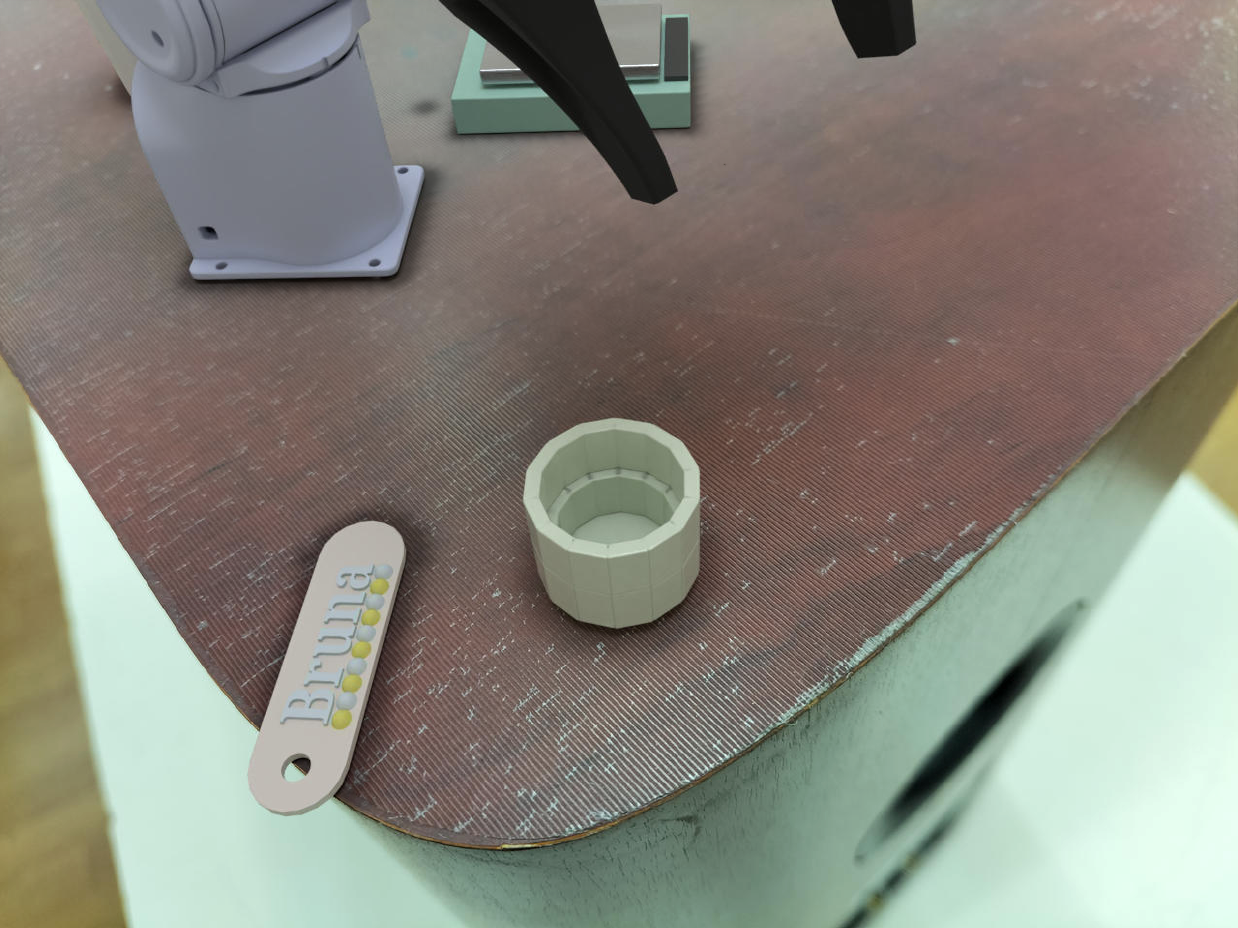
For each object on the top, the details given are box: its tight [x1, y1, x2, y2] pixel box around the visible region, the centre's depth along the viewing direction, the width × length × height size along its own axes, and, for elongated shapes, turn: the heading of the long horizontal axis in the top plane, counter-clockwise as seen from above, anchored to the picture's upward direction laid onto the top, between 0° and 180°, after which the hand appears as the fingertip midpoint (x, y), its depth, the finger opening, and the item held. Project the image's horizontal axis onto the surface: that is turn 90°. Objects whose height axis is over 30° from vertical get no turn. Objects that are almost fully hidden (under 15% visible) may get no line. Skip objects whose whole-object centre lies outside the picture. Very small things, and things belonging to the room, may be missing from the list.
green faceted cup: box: [522, 417, 701, 630], centre depth 33 cm, size 5×6×4 cm
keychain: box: [246, 520, 407, 817], centre depth 32 cm, size 10×1×3 cm
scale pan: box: [479, 3, 663, 85], centre depth 52 cm, size 9×6×1 cm
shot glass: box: [74, 0, 138, 97], centre depth 55 cm, size 7×7×7 cm
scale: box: [450, 13, 692, 135], centre depth 53 cm, size 12×8×2 cm, turn 88°
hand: (772, 122), depth 27 cm, fingers open, 7 cm apart
